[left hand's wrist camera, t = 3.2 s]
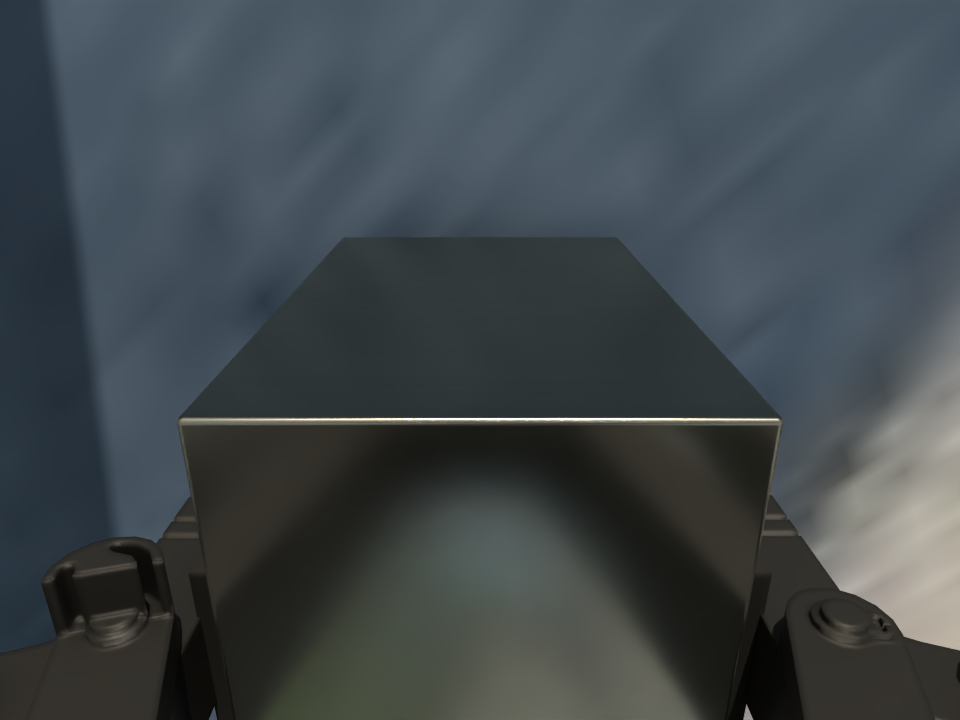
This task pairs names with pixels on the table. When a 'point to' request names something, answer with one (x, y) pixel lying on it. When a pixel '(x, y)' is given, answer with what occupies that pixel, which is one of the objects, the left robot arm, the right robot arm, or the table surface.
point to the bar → (480, 491)
